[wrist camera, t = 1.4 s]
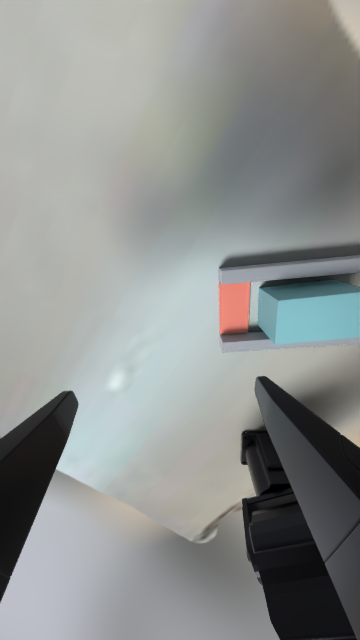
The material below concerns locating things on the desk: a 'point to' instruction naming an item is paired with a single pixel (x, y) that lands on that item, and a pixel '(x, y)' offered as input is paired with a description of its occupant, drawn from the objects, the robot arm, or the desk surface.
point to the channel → (238, 280)
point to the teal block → (309, 311)
